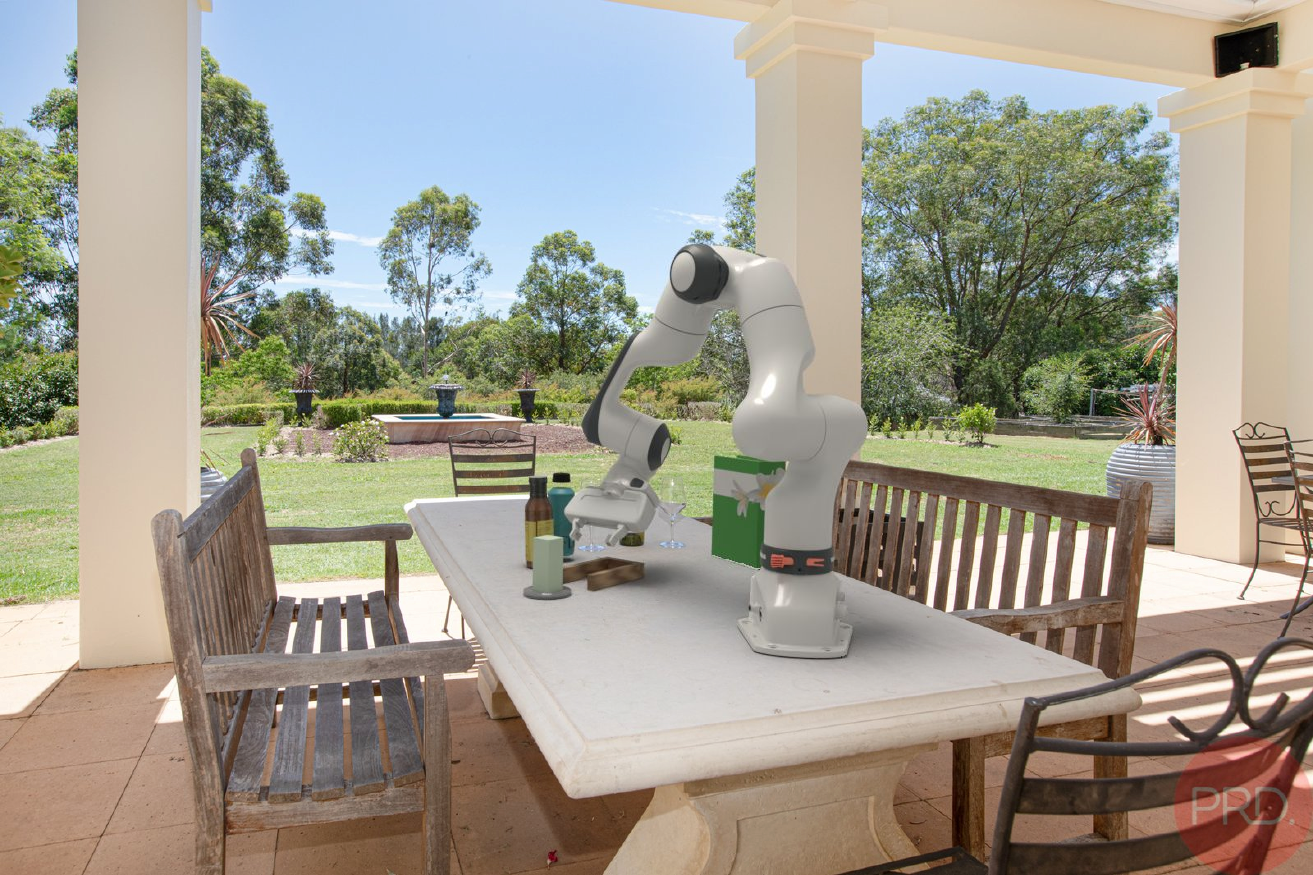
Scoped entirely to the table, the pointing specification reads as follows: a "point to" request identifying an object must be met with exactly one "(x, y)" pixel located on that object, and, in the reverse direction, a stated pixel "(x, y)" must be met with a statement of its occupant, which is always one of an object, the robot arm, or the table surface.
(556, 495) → the beverage bottle
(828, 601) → the robot arm
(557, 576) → the block
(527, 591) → the coaster
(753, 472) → the green gift bag
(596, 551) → the table surface
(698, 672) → the table surface
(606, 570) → the channel
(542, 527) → the sauce bottle
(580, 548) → the table surface
